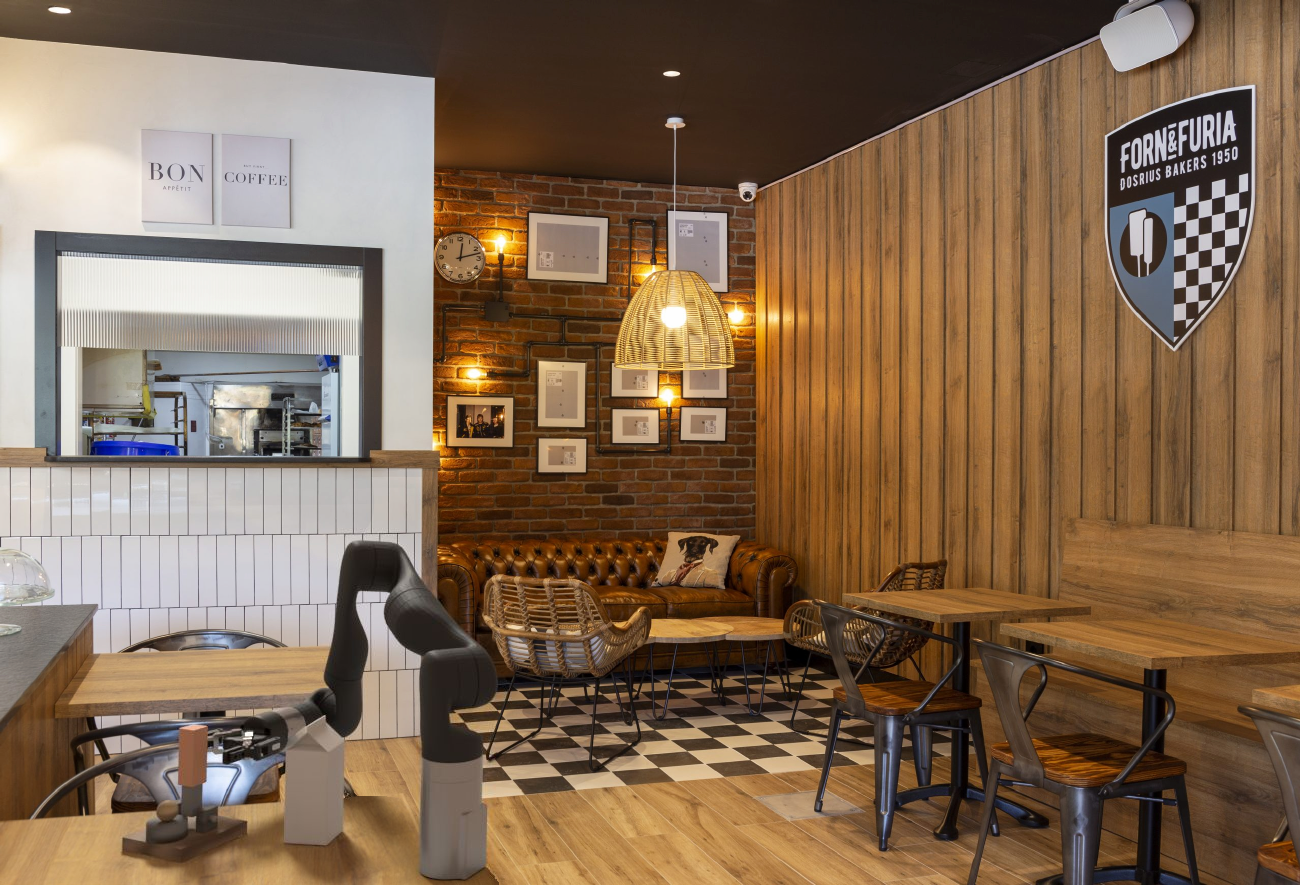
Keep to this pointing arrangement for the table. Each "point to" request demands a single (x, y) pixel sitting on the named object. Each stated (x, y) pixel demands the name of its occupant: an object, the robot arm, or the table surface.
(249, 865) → the table surface
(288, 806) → the milk carton
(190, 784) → the lever
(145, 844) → the base
